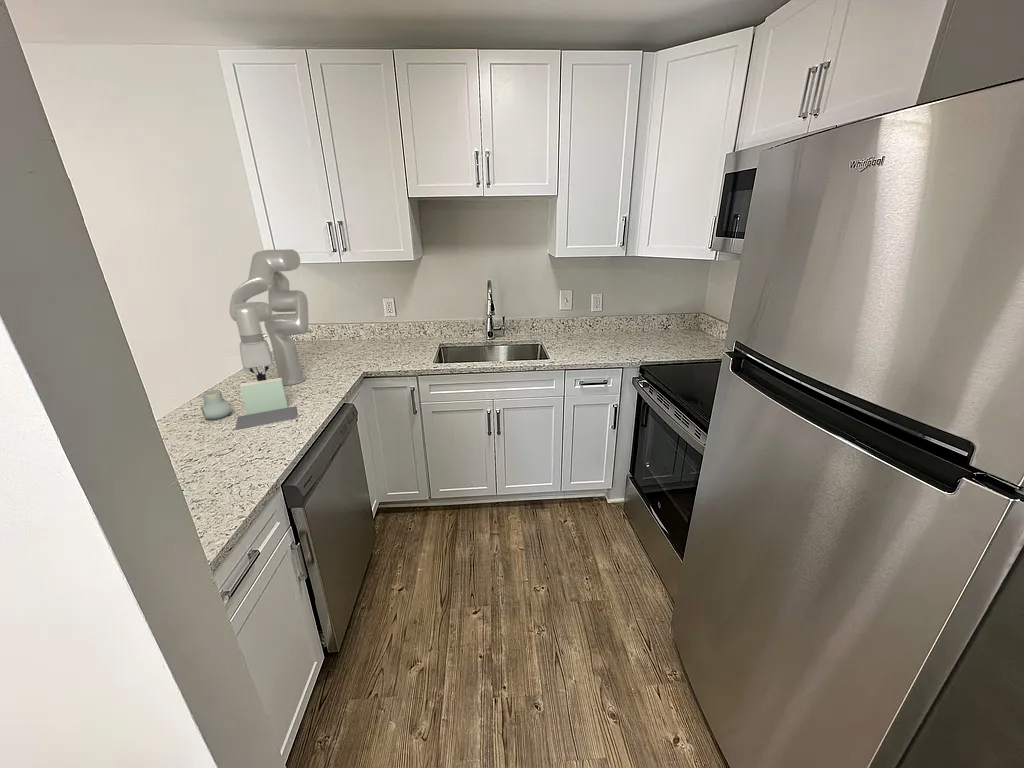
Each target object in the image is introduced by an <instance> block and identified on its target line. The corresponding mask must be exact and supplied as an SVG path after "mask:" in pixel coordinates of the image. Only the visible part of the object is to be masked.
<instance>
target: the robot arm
mask: <svg viewBox="0 0 1024 768" xmlns="http://www.w3.org/2000/svg"><path fill="white" fill-rule="evenodd" d="M300 264H301V257H300V254H299V253H298V251H297V250H295V249H289V248H287V249H265V250H261V251H256V252H255V253H253V255H252V257H251V262H250V268H249V273H248V279H246V281H244V282H242V284H241V285H239V286H238V287H237V288H236V289H235V290H234V292H232V295H231V298H230V303H229V310H228V311H229V315H230V317H231V319H232V320H233V321H235V322H236V326H237V329H238V334H239V338H240V342H239V353H240V359H241V364H242V368H243V369H242V371H243V372H251V373H252V374H254V375H255V376H256V380H257V381H263V380H267V376H266V373H267V372H268V370H269V369H272V368H275V367H276V370H277V374H278V378H282V382H283V386H293V385H298V384H300V383H303V382H305V381H306V379H307V377H306V375H304V374H302V370H301V364H300V360H299V356H298V355H299V354H298V349H297V346H296V342H295V341H294V340H293V338H292V337H291V336H298V335H299V336H301V335H306V334H307V333H308V331H309V302H308V297H307V295H306V293H305V292H303V291H302V290H297V289H295V290H290V281H289V279H288V277H286V275H285V274H283V272H290V271H295V270H297V269H298V268H299V267H300ZM264 292H268V294H267V296H268V301H267V302H264V301H254V302H253V301H249V302H247V301H248V300H250V299H251V298H253V297H255V296H259V295H261V294H263V293H264ZM273 312H275V314H273ZM291 312H292V313H291ZM261 322H263V323H264V324H263V325H264V328H265V330H266V333H263V329H262V326H261ZM268 337H269V340H270V344H271V348H272V352H273V355H272V352H271V349H270V346H269V342H268V340H267V339H265V338H268ZM273 357H274V360H273ZM273 361H274V362H275V364H274V362H273ZM258 368H261V372H260V371H259V369H258Z"/></svg>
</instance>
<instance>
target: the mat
mask: <svg viewBox="0 0 1024 768" xmlns="http://www.w3.org/2000/svg"><path fill="white" fill-rule="evenodd" d="M296 412H297V406H296V405H294V406H289V407H288V408H283V409H278V410H272V411H266V412H261V413H255V414H250V415H247V414H244V415H240V416H239V415H238V416H237V418H236V424H235V427H234V429H235V431H240V430H243V429H248V428H254V427H258V426H263V425H269V424H274V422H275V423H279V421H281V422H285V421H284V420H286V421H290V420H289V419H291V420H295V418H297V419H298V414H297V413H298V412H297V413H296Z"/></svg>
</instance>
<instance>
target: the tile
mask: <svg viewBox="0 0 1024 768" xmlns="http://www.w3.org/2000/svg"><path fill="white" fill-rule="evenodd" d="M239 389H240V393H241V398H242V400H243V401H242V402H243V404H244V409H245V412H246V415H250V414H255V413H261V412H266V411H272V410H278V409H283V408H289V407H288V406H289V404H288V401H287V396H286V392H285V387H284V385H283V382H282V378H279V377H277V378H271V379H270V378H269V379H266V380H263V381H256V380H255V381H250V382H244V383H240V385H239Z"/></svg>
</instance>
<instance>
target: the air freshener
mask: <svg viewBox="0 0 1024 768" xmlns="http://www.w3.org/2000/svg"><path fill="white" fill-rule="evenodd" d="M201 396H202V399H203V405H201V407H200V410H201V412H202V414H203V417H204V418H205V419H206V420H209V421H210V420H213V421H214V420H218V419H222V418H225V417H227V416H229V415H230V414H231V413H232V407H231V404H230V403H229V401H228V400H226V399H223V398H224V397H223V394H222V391H221V390H218V389H214V390H213V389H212V390H208V391H205V392H203V393H202V395H201Z"/></svg>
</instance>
